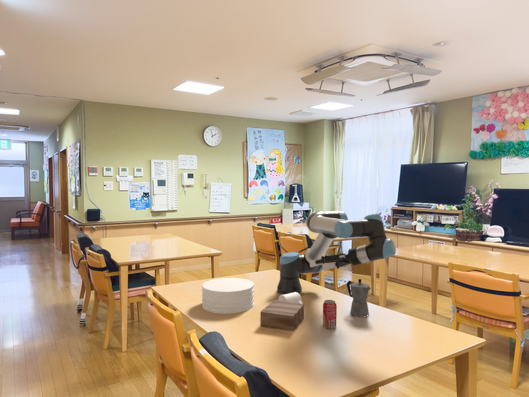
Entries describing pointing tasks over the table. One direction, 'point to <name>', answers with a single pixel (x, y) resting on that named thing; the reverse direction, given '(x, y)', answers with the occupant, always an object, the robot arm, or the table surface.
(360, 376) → the table surface
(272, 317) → the walnut block
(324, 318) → the beverage can
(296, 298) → the mug
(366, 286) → the coffeepot
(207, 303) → the plate stack
